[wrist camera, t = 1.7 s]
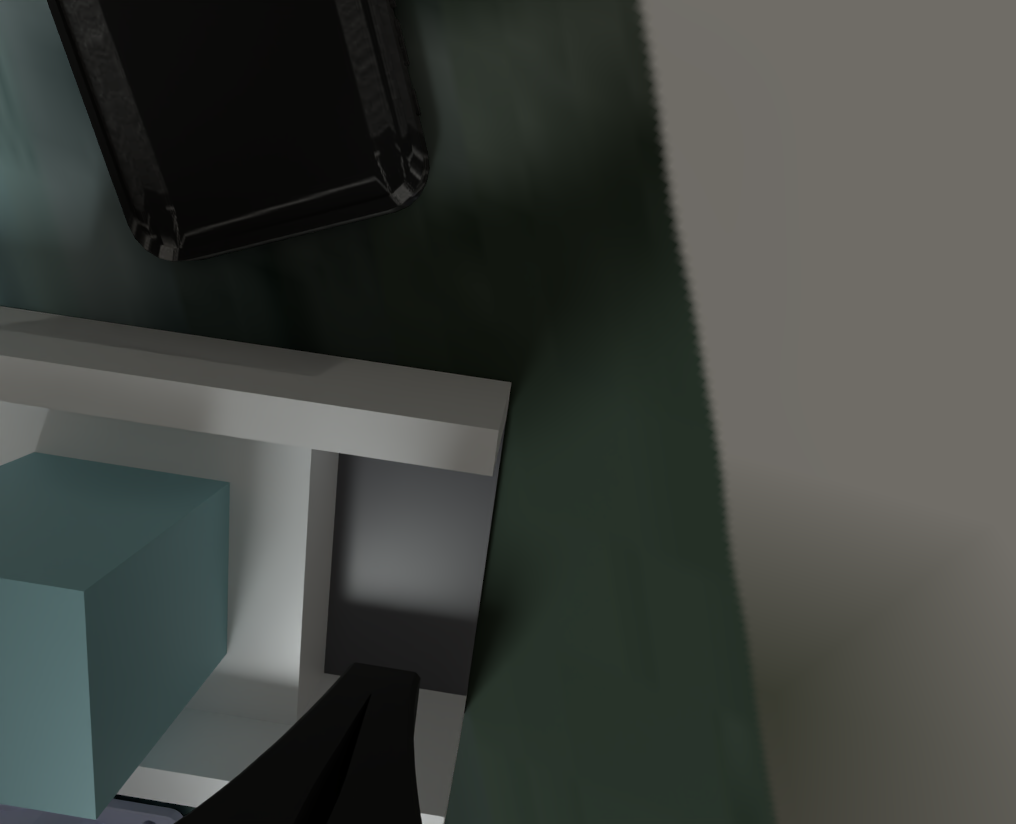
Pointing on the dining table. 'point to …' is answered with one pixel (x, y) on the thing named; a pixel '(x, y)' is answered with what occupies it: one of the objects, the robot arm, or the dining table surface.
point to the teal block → (102, 621)
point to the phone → (246, 116)
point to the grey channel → (287, 518)
